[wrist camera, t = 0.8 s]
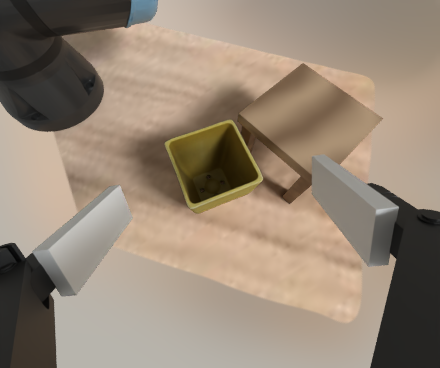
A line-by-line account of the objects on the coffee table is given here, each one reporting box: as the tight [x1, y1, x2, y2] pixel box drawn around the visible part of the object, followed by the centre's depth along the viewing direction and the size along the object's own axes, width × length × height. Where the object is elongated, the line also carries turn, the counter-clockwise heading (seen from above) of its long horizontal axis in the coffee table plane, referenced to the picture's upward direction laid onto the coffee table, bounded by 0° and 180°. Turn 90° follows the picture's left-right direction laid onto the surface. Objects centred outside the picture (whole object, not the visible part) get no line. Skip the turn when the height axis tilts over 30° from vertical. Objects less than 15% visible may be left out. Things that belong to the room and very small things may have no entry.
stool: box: [238, 63, 383, 204], centre depth 30 cm, size 12×12×10 cm
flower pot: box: [165, 120, 263, 213], centre depth 28 cm, size 9×9×9 cm
